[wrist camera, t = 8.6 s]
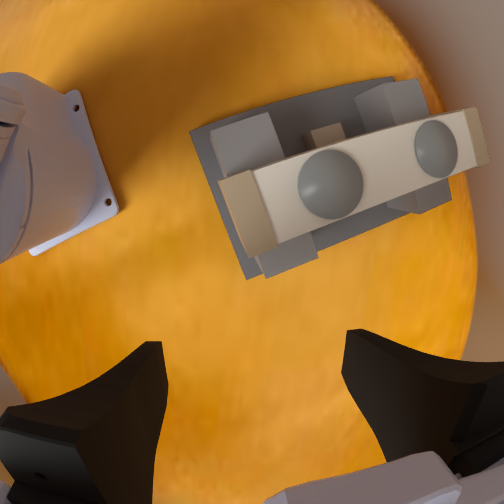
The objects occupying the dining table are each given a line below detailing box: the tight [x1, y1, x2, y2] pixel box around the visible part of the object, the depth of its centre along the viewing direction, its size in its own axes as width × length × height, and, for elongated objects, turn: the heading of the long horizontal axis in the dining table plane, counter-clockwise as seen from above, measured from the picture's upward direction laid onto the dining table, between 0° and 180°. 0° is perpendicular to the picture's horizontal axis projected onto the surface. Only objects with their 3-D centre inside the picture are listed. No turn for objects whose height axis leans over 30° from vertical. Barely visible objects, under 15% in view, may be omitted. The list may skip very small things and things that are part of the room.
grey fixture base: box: [189, 76, 452, 280], centre depth 18 cm, size 15×10×5 cm, turn 110°
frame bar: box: [218, 107, 490, 259], centre depth 14 cm, size 3×14×4 cm, turn 110°
